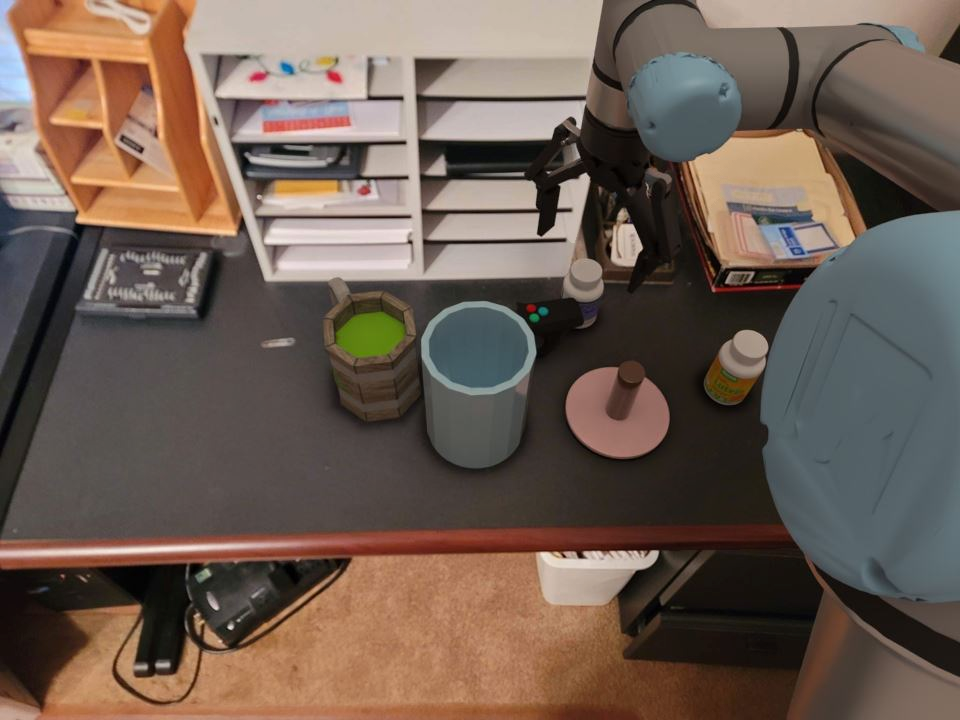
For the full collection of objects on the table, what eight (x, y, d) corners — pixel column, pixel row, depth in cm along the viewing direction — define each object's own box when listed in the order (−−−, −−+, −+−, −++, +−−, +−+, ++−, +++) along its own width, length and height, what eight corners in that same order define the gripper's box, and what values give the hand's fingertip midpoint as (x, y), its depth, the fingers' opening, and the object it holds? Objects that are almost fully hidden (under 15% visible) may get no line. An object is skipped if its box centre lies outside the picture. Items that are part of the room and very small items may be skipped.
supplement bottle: (699, 399, 87) (724, 355, 79) (706, 365, 90) (730, 319, 82) (743, 411, 86) (772, 368, 78) (748, 377, 89) (776, 332, 81)
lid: (674, 388, 88) (696, 343, 80) (657, 474, 81) (679, 435, 73) (578, 361, 90) (589, 314, 82) (553, 443, 83) (563, 401, 75)
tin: (542, 421, 85) (558, 342, 71) (480, 487, 80) (484, 416, 66) (471, 368, 89) (473, 283, 75) (407, 428, 84) (397, 349, 70)
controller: (479, 345, 91) (481, 296, 83) (570, 329, 93) (581, 280, 85) (487, 372, 89) (490, 324, 80) (579, 355, 90) (592, 307, 82)
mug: (438, 397, 86) (436, 340, 76) (360, 437, 83) (346, 383, 73) (379, 311, 94) (370, 249, 84) (305, 345, 90) (286, 285, 80)
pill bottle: (604, 320, 94) (616, 276, 87) (572, 335, 92) (581, 292, 85) (581, 293, 96) (591, 248, 89) (549, 308, 95) (557, 263, 87)
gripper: (757, 147, 65) (693, 292, 83) (546, 41, 74) (529, 193, 91) (716, 188, 62) (658, 330, 79) (500, 72, 70) (492, 223, 88)
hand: (589, 257), depth 85 cm, fingers open, 13 cm apart
